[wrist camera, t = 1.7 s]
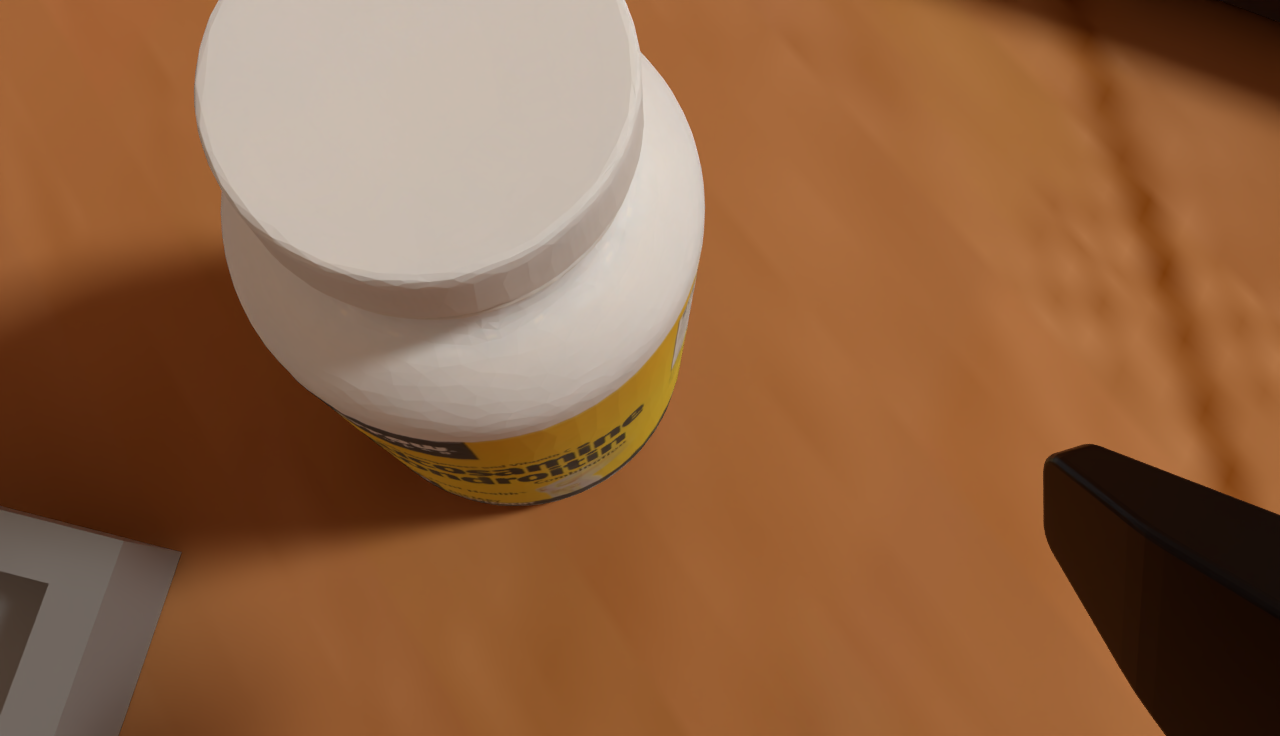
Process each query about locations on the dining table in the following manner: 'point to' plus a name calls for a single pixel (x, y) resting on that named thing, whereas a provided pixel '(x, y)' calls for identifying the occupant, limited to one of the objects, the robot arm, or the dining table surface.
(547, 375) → the pill bottle
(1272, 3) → the diary
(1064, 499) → the robot arm
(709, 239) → the dining table surface
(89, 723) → the holder tray
